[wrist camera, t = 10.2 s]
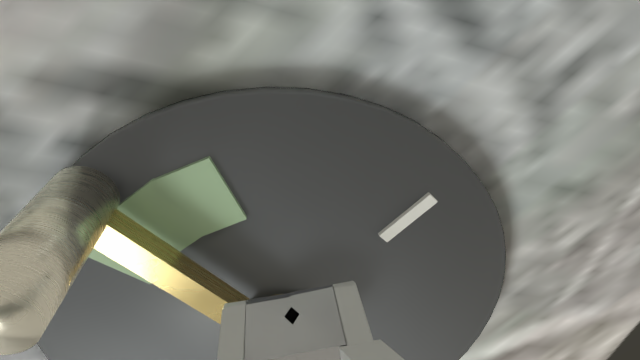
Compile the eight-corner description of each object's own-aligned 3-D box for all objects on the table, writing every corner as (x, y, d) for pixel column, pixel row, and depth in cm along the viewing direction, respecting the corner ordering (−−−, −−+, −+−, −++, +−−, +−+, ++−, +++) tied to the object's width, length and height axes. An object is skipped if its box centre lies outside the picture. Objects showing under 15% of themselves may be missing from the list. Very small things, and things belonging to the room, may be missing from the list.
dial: (292, 459, 29) (293, 474, 28) (-64, 337, 19) (-79, 356, 18) (572, 279, 22) (584, 291, 21) (253, -70, 12) (252, -71, 11)
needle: (341, 322, 20) (366, 449, 15) (279, 362, 21) (283, 493, 16) (93, 136, 13) (-14, 248, 8) (21, 208, 15) (-112, 347, 9)
